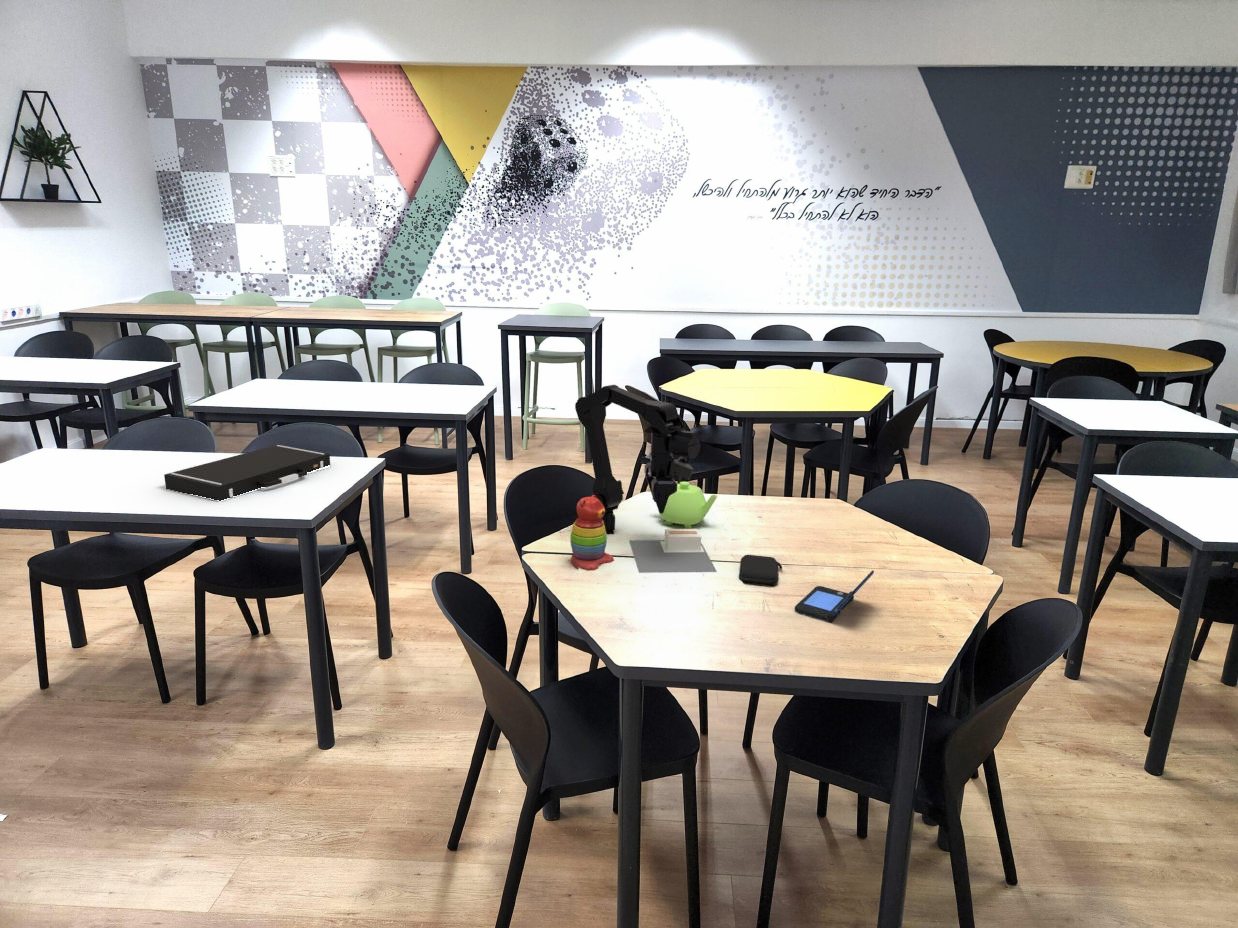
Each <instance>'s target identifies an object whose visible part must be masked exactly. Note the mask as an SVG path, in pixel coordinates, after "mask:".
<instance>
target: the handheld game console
mask: <svg viewBox="0 0 1238 928" xmlns="http://www.w3.org/2000/svg"><path fill="white" fill-rule="evenodd" d="M874 573H875V571H874V570H871V571H870V572H869V573H868V574H867V576H865V577H864V579H863V580H862V581H861V582H859V584H858V585H857V586H856V587H855V588H854V589H853V590H850V591H849V592H844V591H840V590H838V589H833V588H829V587H826V586H822V585H817V586H815V587H814V588H813V589H811V591H810V592H809V593H807V594H806V596H805V597H803V598H801V600H800V601H799V602H798V603H797V604H796V605H795V606H794V612H795V613H797V614H800V615H804V616H806V617H811V618H814V619H816V620H820V621H823V622H827V623H830V624H833V622H834V621H835V620H836V618H837V617H838V616H839V615H840V614H841V612H842V610H845V608H847V607H848V606H849V604H850V603H852V602H853V601H854V599H855V594H856V593H857V592H858V591H859V590H860V589H861V588H862V587H863V586H864V585H865V584H866V583H867V581H868V580H869V579H870V578H871V577H872V576H873V575H874Z"/></svg>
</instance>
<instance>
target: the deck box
mask: <svg viewBox="0 0 1238 928" xmlns="http://www.w3.org/2000/svg"><path fill="white" fill-rule="evenodd" d="M663 538H664V539H663V540H664V543H665V546H666V548H667V550H668V551H701V543H702V536H701V533H700V532H699V529H697V528H692V529H685V528H665V529H664V537H663Z"/></svg>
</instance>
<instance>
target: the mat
mask: <svg viewBox="0 0 1238 928" xmlns="http://www.w3.org/2000/svg"><path fill="white" fill-rule="evenodd" d="M628 541H629V546H630V548H631V551H632V555H633V558H634V561H635V564H636V568H637V572H638V573H639V574H642V573H643V574H645V573H646V574H649V573H650V574H651V573H653V574H654V573H657V574H658V573H662V574H663V573H717V572H718V571H717V569H716V567H715V566H714V563H713V562H712V560H711V558H710V556H709V555H708V552H707V550H706V549H705V547H704V545H703V543H702V542H701V551H668V550H667V548H666V546H665V543H664V539H661V540H660V539H657V540H656V539H655V540H654V539H653V540H651V539H649V540H647V539H646V540H645V539H643V540H639V539H638V540H637V539H636V540H635V539H633V540H628Z"/></svg>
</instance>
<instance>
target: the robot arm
mask: <svg viewBox="0 0 1238 928" xmlns="http://www.w3.org/2000/svg"><path fill="white" fill-rule="evenodd" d="M612 404H615V405H617V406H619V407H621V408H624V409H626V410H628V411H630V412H633V413H634V414H637V415H639V416H640V417H642V419H643V421H645V422H646V423H647V424H648V425H649V427H647V428H646V429H644V433H646V434H651V435H650V436H651V437H650V439H651V440H650V452H649V454H648V456H649V458H650V459H649V460H650V462H647V463H646V464H644V468H643V469H644V470H643V471H644V476H645V479H646V481H647V484H648V487H649V491H650V494H651V497H652V498H653V499H654V500H653V499H652V500H653V502H654V503H655V504H656V507H657V510H658V513H664V510H665V507H666V504H667V501H668V498H669V496H670V495H672V494H674V493H675V492H677V484H678V483H677V481H676V480H675V479H674V477H675V475H676V476H678V477H681V478H683V479H685V480H687V481H689V480H690V479H691V476H692V473H693V471H694V468H693V466H692V465H690V464H689V463H688V462H687V459H691V460H693V459H695V458H697V457H698V455H699V453H700V449H701V442H700V439H699V438H698V437H697V432H696V431H689V430H686V429H687V428H686V426H685V424H684V422H683V421H682V418H681V417H680V415H679V412H678V409H677V406H676V405H675V404H673V403H671V402H666V401H660V400H659V401H658V400H650V399H647V398H645V397H643V396H640V395H638V394H635V393H633V392H631V391H629V390H626V389H624V388H622V387H620V386H618V385H617V384H610V385H609V384H608V385H604V386H602V387H601V388H599V389H597V391H594V392H592V393H590V394H588V395H587V396H581V397H579V398H578V399H577V400H576V402H575V405H574V409H575V413H576V415H577V419H578V421H579V422H580V423H581V425H582V426H583V428H585V431H586V437H587V441H588V447H589V452H590V457H591V463H592V467H593V474H594V483H593V486H592V488H591V489H592V490H591V491H592V495H596V497H597V499H599V500H600V501H601V503H602V504H603V506H604V508H605V513H604V515H603V517H602V520H603V521H604V525H605V530H606V534H607V535H614V534H615V533H614V531H615V530H616V516H615V515H616V514H614V510H618V509H619V506H620V504H621V503H622V502H623V499H624V494H625V493H624V491H623V484H622V480H621V479H619V480H617V479H616V478H615V476H614V475H613V472H612V470H613V469H612V466H611V460H610V455H609V450H608V449H609V448H608V444H607V439H606V438H607V437H606V435H605V428H604V423H605V420H606V416H607V407H609V406H610V405H612ZM673 455H674V456H679V457H678V458H677V459H675V457H674V456H673Z"/></svg>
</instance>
